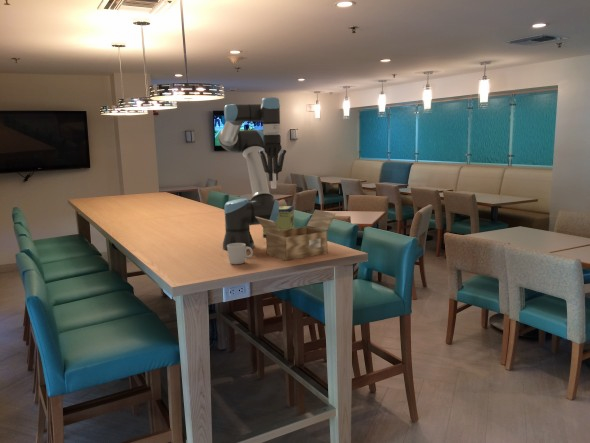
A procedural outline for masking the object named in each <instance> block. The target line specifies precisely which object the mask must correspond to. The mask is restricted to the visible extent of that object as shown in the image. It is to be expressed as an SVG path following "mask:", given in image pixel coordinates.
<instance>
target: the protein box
mask: <svg viewBox="0 0 590 443" xmlns="http://www.w3.org/2000/svg"><path fill="white" fill-rule="evenodd" d="M294 208H295V206H294V205H293V206H292V205H291V206H290V205H289V206H288V205H287V206H284V205H283V206H280V205H279V216H278V220H277V222H275V224H276V226H277V227H278V228H279V230H285V229H292V228H295V209H294ZM262 237H263V238H266V231H265V230H264V228H263V227H262Z"/></svg>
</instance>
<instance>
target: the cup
mask: <svg viewBox="0 0 590 443" xmlns="http://www.w3.org/2000/svg"><path fill="white" fill-rule="evenodd" d="M248 250H249V251H250V254H249V255H248V254H247V251H248ZM226 251H227V254H228V255H227V256H228V261H229V263H230V264H231V265H241V264H244V263H245V262H246V259H249V258H251V257H252V256H253V255H254V254H253V253H254V250H253V248H251V247H247V246H246V244H244V243H232V244H228V245H227V250H226Z"/></svg>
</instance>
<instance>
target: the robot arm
mask: <svg viewBox="0 0 590 443" xmlns="http://www.w3.org/2000/svg"><path fill="white" fill-rule="evenodd" d="M280 107H281V105H280V99H279V98H278V97H272V96H271V97H269V96H268V97H262V99H261V103H252V104H250V103H249V104H248V103H232V104H226V105H225V106H224V108H223V114H224V121H225V123H224V126H223V128H222V129H221V130H220V131H219V133H218V143H219V145H220V146H221V147H222V148H223V149H224V150H226V151H227V152H230V153H237V154H238V153H242V157H243V158H245V160H246V166H247V170H248V178H249V184H250V189H251V193H252V197H251V198H250V201H249V199H248V198H238V199H232V200H229V201H226V202H225V204H224V205H223V206H224V211H223V214H224V226H225V234H224V237H223V241H222V249H223V250H226V251H228V250H227V245H228V244H232V243H244V244H246V246H247V247H251V248H252V249H253V248H254V246H255V245H254V244H255V242H254V239H253V237H252V234H251V231H250V230H251V229H250V226H256V225H257V226H259V225H261V224H260V223H259V221H258V220H257V219H256V217H260V218H263V219H267V220H271V221H274V223H275V222H277V220H278V216H279V206H280V204H279V200H278V199H275V198H274V195H273V194H272V193H270V189H273V190H275V189H277V181H278V180H279V173H281V172H282V171H283V166H284V160H285V156H286V153H287V150H286V149H284V148H283V147H282V144H281V140H282V139H281V136H282V135H281V134H280V133H281V114H280V113H281V111H280V110H281V108H280ZM245 122H247V123H248V122H262V130H261V129H241V128H242V126H243V123H245ZM266 157H267V158H266ZM267 174H268V179H267ZM268 181H269V182H270V189H269V183H268Z"/></svg>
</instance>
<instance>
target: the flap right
mask: <svg viewBox="0 0 590 443" xmlns="http://www.w3.org/2000/svg"><path fill="white" fill-rule="evenodd" d="M335 217H336V213H335V212H331V211H324V210H321V209H320V210H319V209H314V211H313V213H312V215H311V217H310V218H309V221H308V222H307V224H306V227H311V228H315V229H319V230H323V231H326V232H328V230H329V228H330V226H331V223H332V222H333V220H334V219H335Z"/></svg>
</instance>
